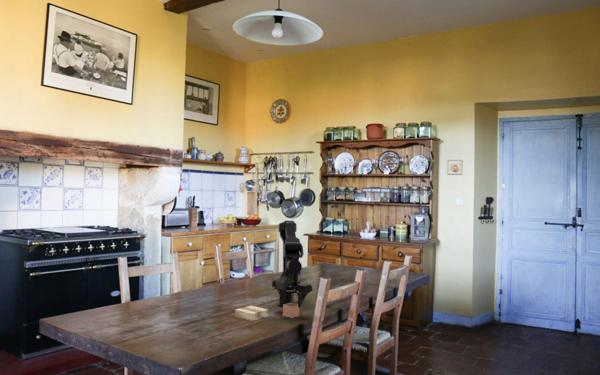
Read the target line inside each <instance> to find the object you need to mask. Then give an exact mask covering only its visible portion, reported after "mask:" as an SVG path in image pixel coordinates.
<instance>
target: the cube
mask: <svg viewBox="0 0 600 375" xmlns="http://www.w3.org/2000/svg"><path fill="white" fill-rule="evenodd" d="M299 316H300V308H298V303H294V302H293V303H287V304H283V306H282V317H287V318H290V319H293V318H297V317H299Z"/></svg>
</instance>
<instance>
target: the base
mask: <svg viewBox="0 0 600 375" xmlns="http://www.w3.org/2000/svg"><path fill="white" fill-rule="evenodd" d="M234 317H235V318H238V319H243V320H247V321H250V322H253V321H257V320H261V319H265V318H268V317H269V309H267V308H263V307H259V306H255V305H249V306H244V307H240V308H236V309H234Z"/></svg>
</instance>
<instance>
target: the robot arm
mask: <svg viewBox="0 0 600 375" xmlns="http://www.w3.org/2000/svg"><path fill="white" fill-rule="evenodd" d="M277 226H278V230H277V232H278V233H279V238H280V239H281V241H282V272H281V274H280V276H279V278H277V279H273V281H272V282H271V287H272V288H273V289H274V290H276V292H277V294H278V296H279V300H278V301H279V303H277V304H276V306H278V307H283V304H287V303H294V294H296V295H297V304H298V308H299V309H300V308H301V307H302V305H303V303H304V301H305V299H306V297H307V295H308V294H309V293H310V292H313V285H311V284H309V283H301V281H300V280H299V277H300V276H299V275H301V270H303V269H302V268H303V265H302V263H301V261H300V259H303V257H304V247H303V244H302V243H301V240H300V238H298V237H297V235H296V233H297V229H298V228H297V223H296V222H295V221H294V220H284V221H282V222H279V223H278V225H277Z"/></svg>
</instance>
